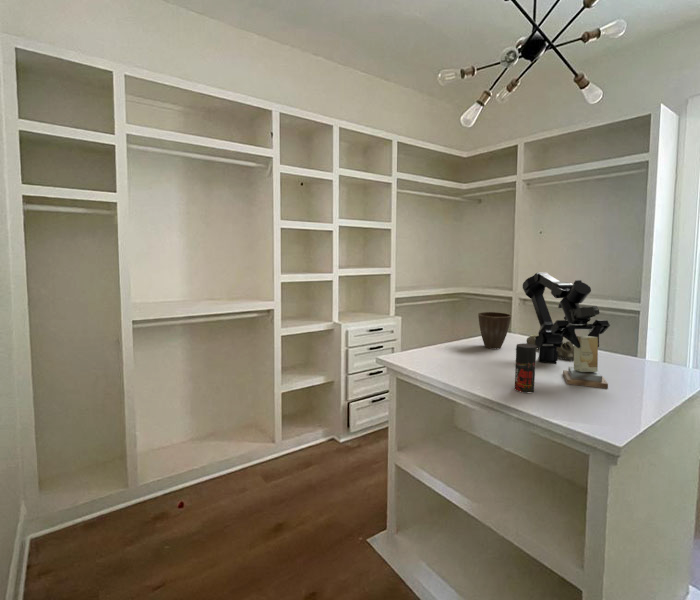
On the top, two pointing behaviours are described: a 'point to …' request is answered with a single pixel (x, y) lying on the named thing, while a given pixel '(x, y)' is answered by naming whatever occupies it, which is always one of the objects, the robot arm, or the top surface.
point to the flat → (563, 352)
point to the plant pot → (494, 328)
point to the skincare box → (586, 354)
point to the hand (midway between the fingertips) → (588, 347)
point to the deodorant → (525, 367)
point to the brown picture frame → (584, 378)
